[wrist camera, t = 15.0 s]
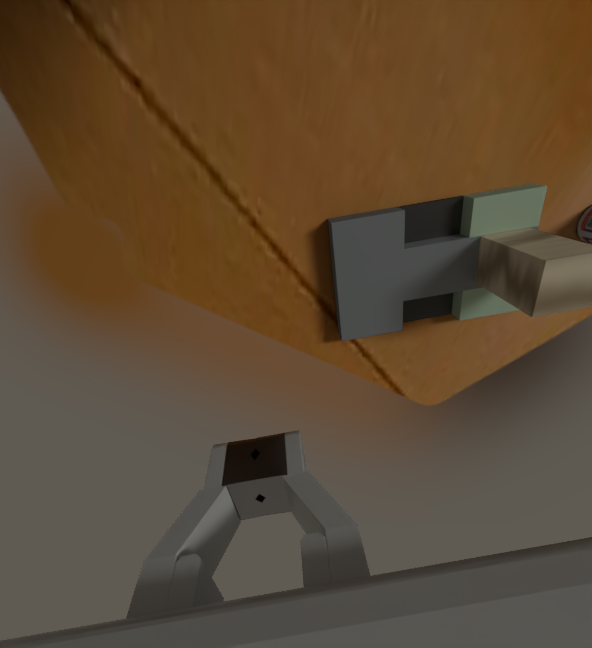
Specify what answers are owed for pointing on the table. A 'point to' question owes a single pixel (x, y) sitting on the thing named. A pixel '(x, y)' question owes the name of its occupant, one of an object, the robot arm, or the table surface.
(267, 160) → the table surface
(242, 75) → the table surface
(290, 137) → the table surface
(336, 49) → the table surface
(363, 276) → the board
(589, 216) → the pill bottle
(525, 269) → the birch block
